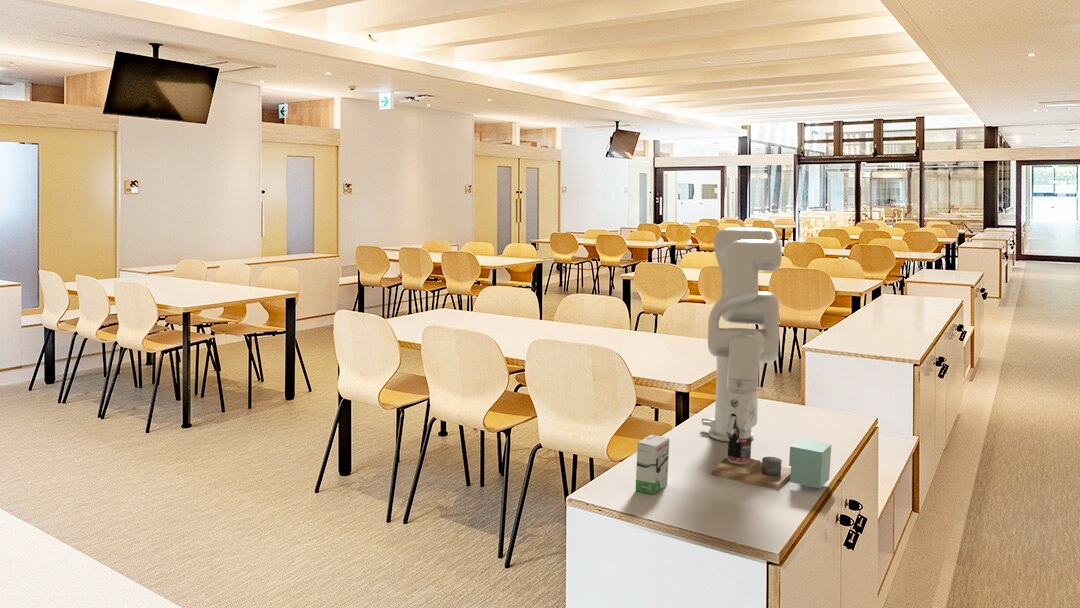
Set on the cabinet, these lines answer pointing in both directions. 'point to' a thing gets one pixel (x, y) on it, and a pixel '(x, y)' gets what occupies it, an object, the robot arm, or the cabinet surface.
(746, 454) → the pill bottle
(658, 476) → the ink box
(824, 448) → the mint green block
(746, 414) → the robot arm
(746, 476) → the board
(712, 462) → the cabinet surface
